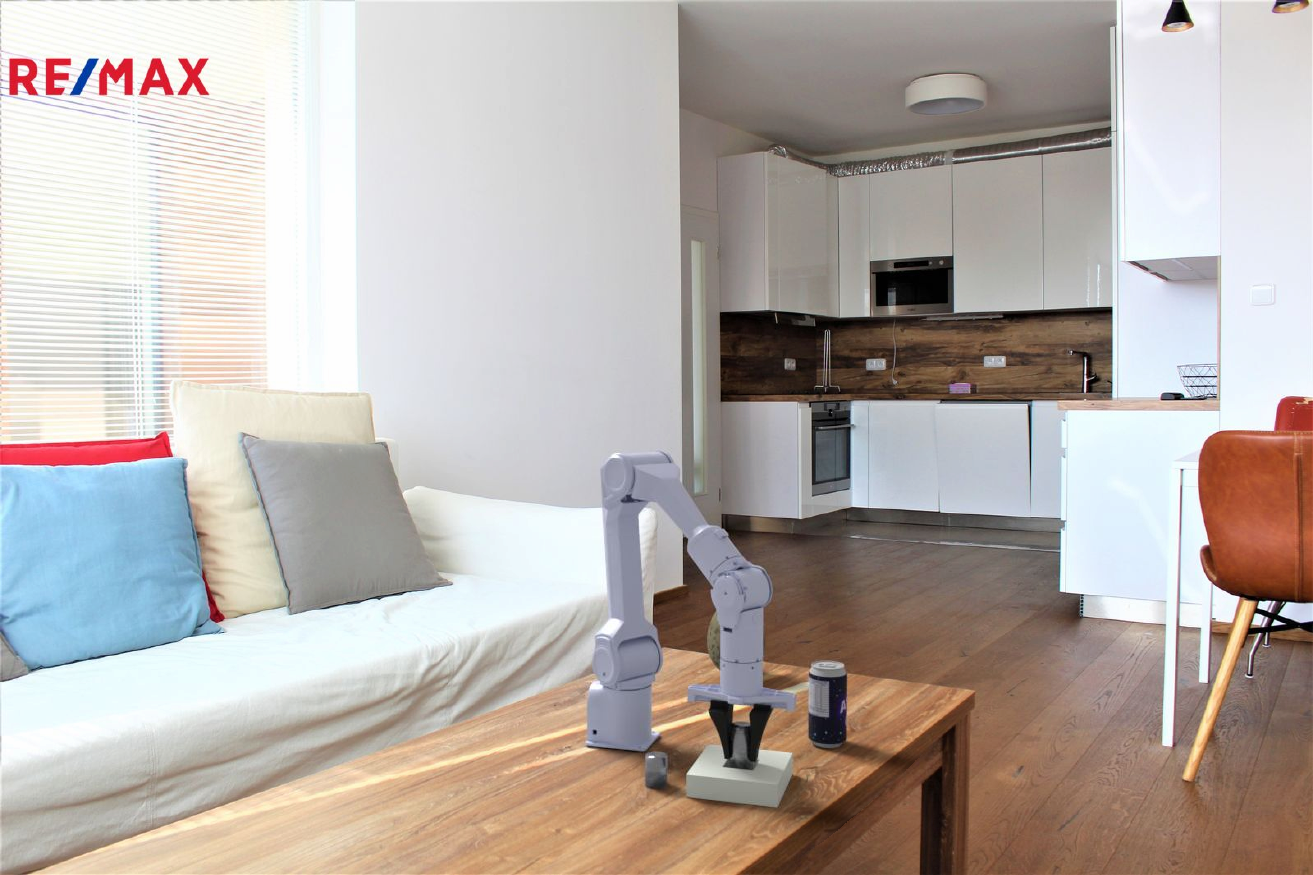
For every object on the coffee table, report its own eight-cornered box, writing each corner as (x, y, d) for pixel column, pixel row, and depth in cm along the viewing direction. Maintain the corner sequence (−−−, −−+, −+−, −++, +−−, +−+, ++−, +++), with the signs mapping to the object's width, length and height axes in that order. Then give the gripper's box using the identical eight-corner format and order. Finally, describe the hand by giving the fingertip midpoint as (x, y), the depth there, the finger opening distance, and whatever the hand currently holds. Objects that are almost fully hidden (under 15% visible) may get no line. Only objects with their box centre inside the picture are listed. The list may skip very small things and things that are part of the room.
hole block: (686, 796, 135) (686, 774, 135) (708, 765, 146) (708, 744, 146) (777, 807, 131) (777, 784, 131) (792, 774, 143) (792, 752, 143)
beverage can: (846, 751, 152) (846, 670, 151) (807, 748, 153) (807, 668, 153) (846, 738, 158) (847, 660, 157) (809, 736, 159) (809, 658, 158)
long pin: (728, 779, 138) (728, 727, 137) (732, 771, 141) (732, 720, 140) (750, 781, 137) (750, 729, 137) (754, 773, 140) (754, 722, 139)
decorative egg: (715, 666, 199) (715, 589, 198) (770, 671, 195) (771, 592, 195) (700, 681, 189) (700, 599, 188) (757, 686, 185) (758, 603, 184)
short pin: (642, 787, 138) (642, 758, 138) (648, 779, 141) (648, 750, 141) (663, 790, 137) (663, 760, 137) (670, 781, 140) (670, 752, 140)
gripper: (681, 661, 136) (681, 762, 137) (790, 670, 132) (789, 774, 133) (694, 648, 143) (694, 745, 144) (799, 656, 139) (798, 755, 139)
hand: (741, 758), depth 139 cm, fingers closed on long pin, 3 cm apart
